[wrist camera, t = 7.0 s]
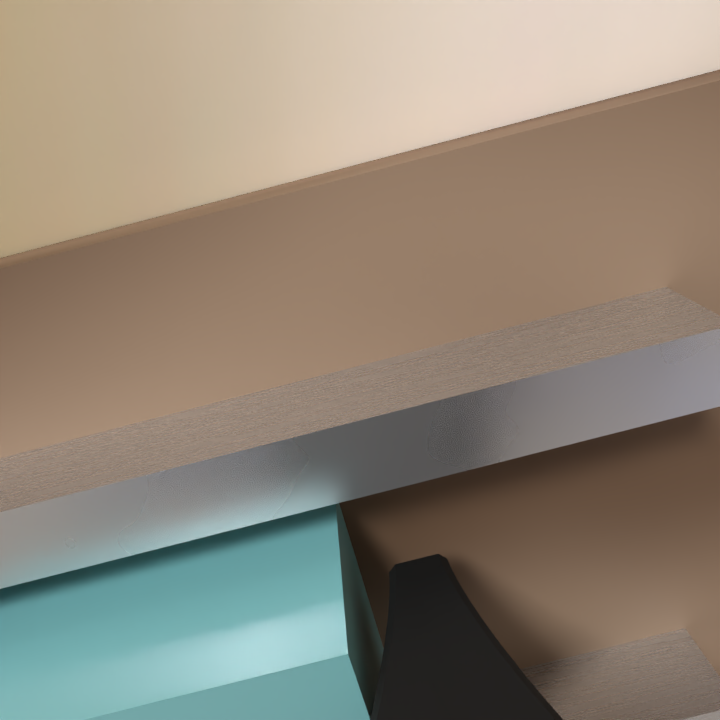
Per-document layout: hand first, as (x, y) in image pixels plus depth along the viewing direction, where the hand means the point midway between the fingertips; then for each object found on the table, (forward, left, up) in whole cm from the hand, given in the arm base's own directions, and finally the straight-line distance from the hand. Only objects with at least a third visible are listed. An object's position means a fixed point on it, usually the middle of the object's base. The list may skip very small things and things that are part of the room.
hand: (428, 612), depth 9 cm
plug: (0, +3, -1) cm, 4 cm away
